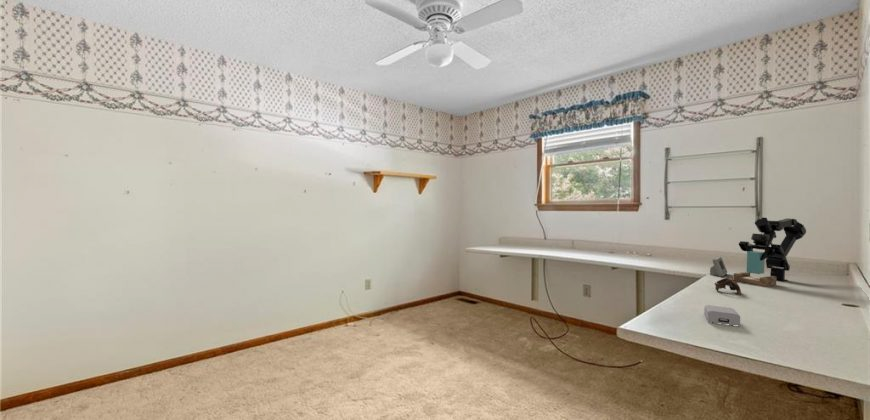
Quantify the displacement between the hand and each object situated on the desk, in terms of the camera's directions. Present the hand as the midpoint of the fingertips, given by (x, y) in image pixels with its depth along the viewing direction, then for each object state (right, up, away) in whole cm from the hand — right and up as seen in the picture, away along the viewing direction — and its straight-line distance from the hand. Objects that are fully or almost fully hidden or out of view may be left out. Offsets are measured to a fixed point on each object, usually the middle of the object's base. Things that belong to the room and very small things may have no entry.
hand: (754, 259), depth 200 cm
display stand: (+1, -13, +1) cm, 13 cm away
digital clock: (-1, -13, +23) cm, 26 cm away
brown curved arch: (-31, -14, -21) cm, 40 cm away
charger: (-68, -15, -62) cm, 93 cm away
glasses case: (+1, -8, +1) cm, 8 cm away
